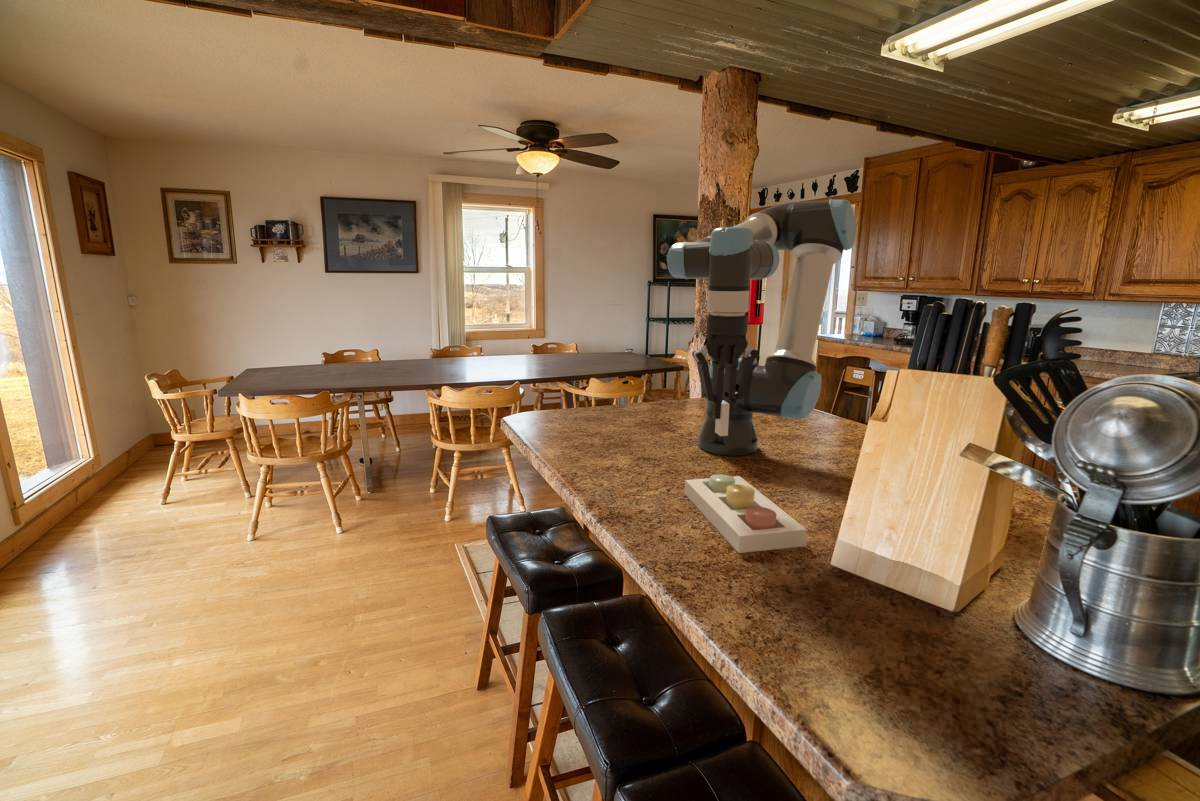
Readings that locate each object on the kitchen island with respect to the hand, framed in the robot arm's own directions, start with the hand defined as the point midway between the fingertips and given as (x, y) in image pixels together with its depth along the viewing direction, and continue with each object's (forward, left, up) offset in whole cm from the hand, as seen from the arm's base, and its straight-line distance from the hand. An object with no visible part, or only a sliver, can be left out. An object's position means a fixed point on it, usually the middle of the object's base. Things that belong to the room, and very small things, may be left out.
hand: (721, 433), depth 110 cm
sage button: (0, +2, -12) cm, 12 cm away
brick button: (0, +18, -12) cm, 21 cm away
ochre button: (0, +10, -11) cm, 15 cm away
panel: (0, +10, -13) cm, 17 cm away
